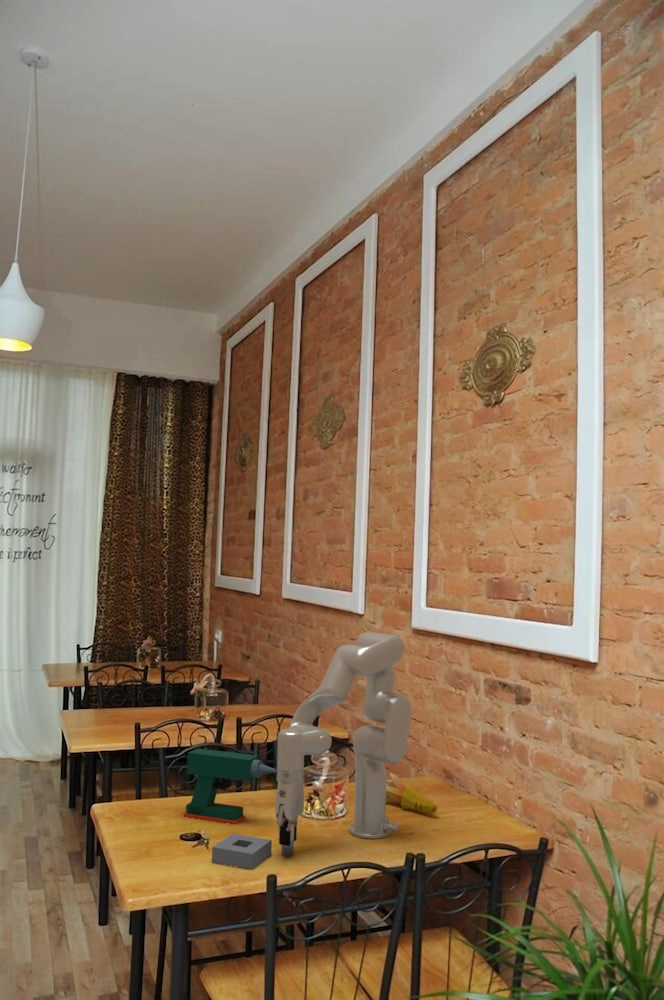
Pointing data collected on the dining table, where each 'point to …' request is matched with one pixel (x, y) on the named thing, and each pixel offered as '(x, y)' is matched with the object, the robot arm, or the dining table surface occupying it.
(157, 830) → the dining table surface
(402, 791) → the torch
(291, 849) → the copper capped vial
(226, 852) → the block
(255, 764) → the power tool
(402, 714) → the robot arm
